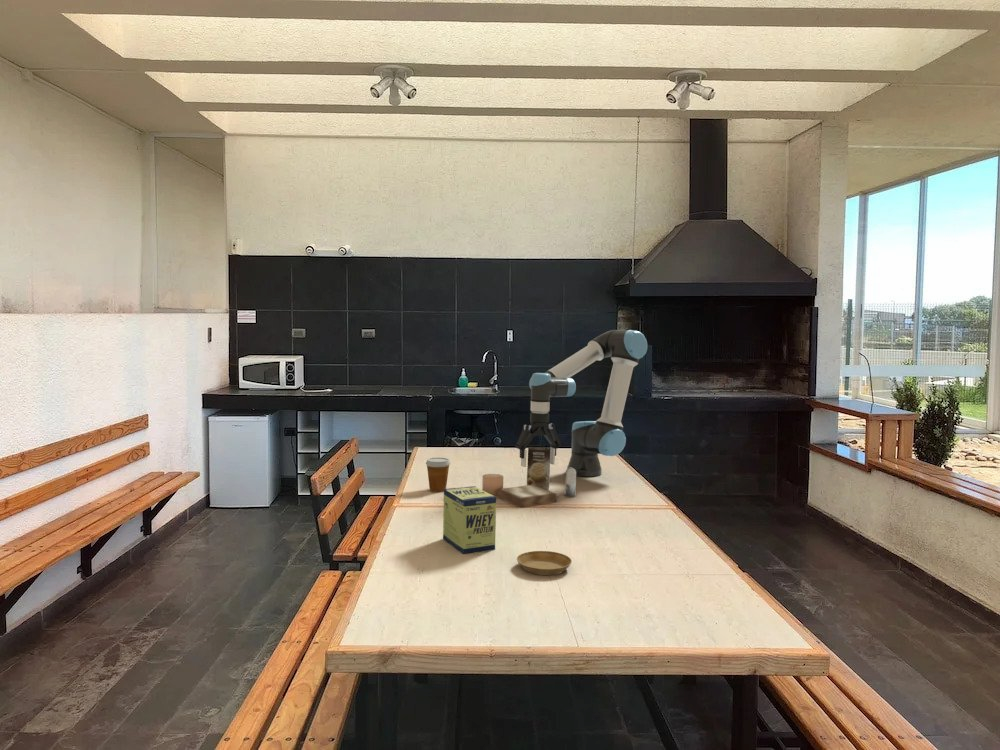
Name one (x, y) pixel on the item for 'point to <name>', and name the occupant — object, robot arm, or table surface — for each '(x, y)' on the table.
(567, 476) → the salt shaker
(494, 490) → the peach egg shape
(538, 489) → the picture frame
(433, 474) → the disposable coffee cup
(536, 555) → the plant saucer
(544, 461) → the coffee box
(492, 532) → the protein box
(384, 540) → the table surface
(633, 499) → the table surface
